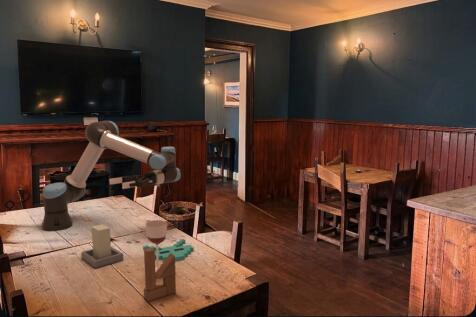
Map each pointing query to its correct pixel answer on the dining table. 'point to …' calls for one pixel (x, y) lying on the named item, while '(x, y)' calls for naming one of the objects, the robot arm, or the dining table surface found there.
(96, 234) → the tan rectangular block
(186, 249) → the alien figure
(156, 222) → the wineglass
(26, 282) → the dining table surface
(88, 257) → the grey tray
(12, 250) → the dining table surface
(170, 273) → the wooden braced frame
